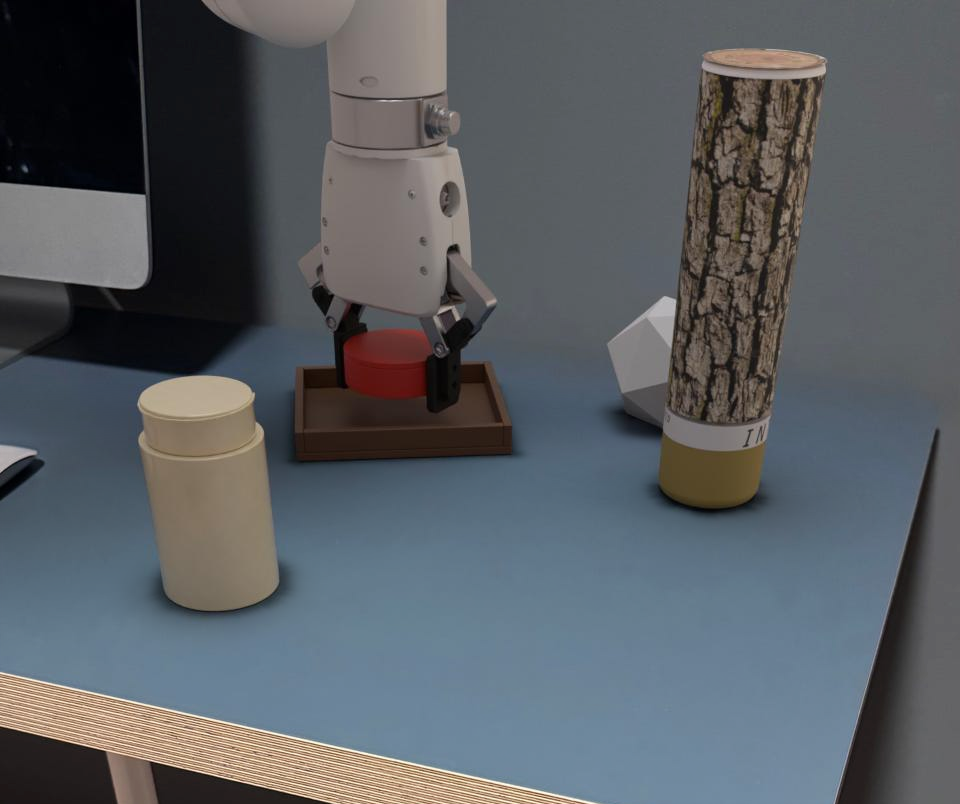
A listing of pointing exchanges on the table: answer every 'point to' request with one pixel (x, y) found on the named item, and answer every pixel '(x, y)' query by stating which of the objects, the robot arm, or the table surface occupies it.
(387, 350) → the jar lid
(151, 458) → the jar
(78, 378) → the table surface
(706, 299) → the paper tube
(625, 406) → the die
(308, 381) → the tray
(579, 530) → the table surface
